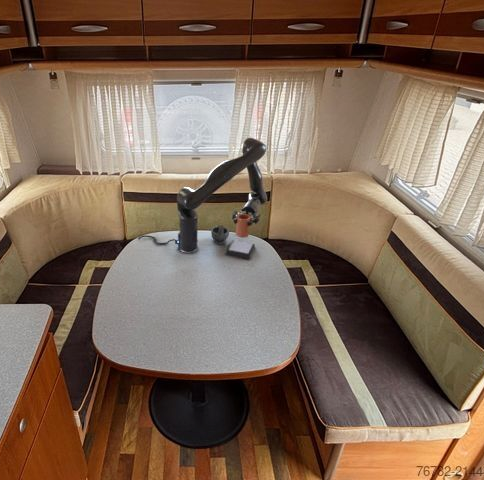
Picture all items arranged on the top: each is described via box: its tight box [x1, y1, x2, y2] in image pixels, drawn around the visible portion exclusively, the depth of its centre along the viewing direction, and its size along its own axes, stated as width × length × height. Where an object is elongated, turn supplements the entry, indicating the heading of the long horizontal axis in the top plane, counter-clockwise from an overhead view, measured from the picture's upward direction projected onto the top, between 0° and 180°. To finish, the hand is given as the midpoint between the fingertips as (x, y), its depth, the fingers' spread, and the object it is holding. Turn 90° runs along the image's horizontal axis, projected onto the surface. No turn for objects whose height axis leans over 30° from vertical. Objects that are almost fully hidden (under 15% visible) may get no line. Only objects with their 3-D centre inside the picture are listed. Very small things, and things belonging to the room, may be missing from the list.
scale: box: [225, 239, 256, 261], centre depth 185 cm, size 12×12×3 cm
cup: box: [235, 214, 250, 239], centre depth 177 cm, size 6×6×10 cm
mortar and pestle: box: [210, 225, 230, 245], centre depth 191 cm, size 11×9×12 cm
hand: (242, 223), depth 174 cm, fingers closed on cup, 6 cm apart
